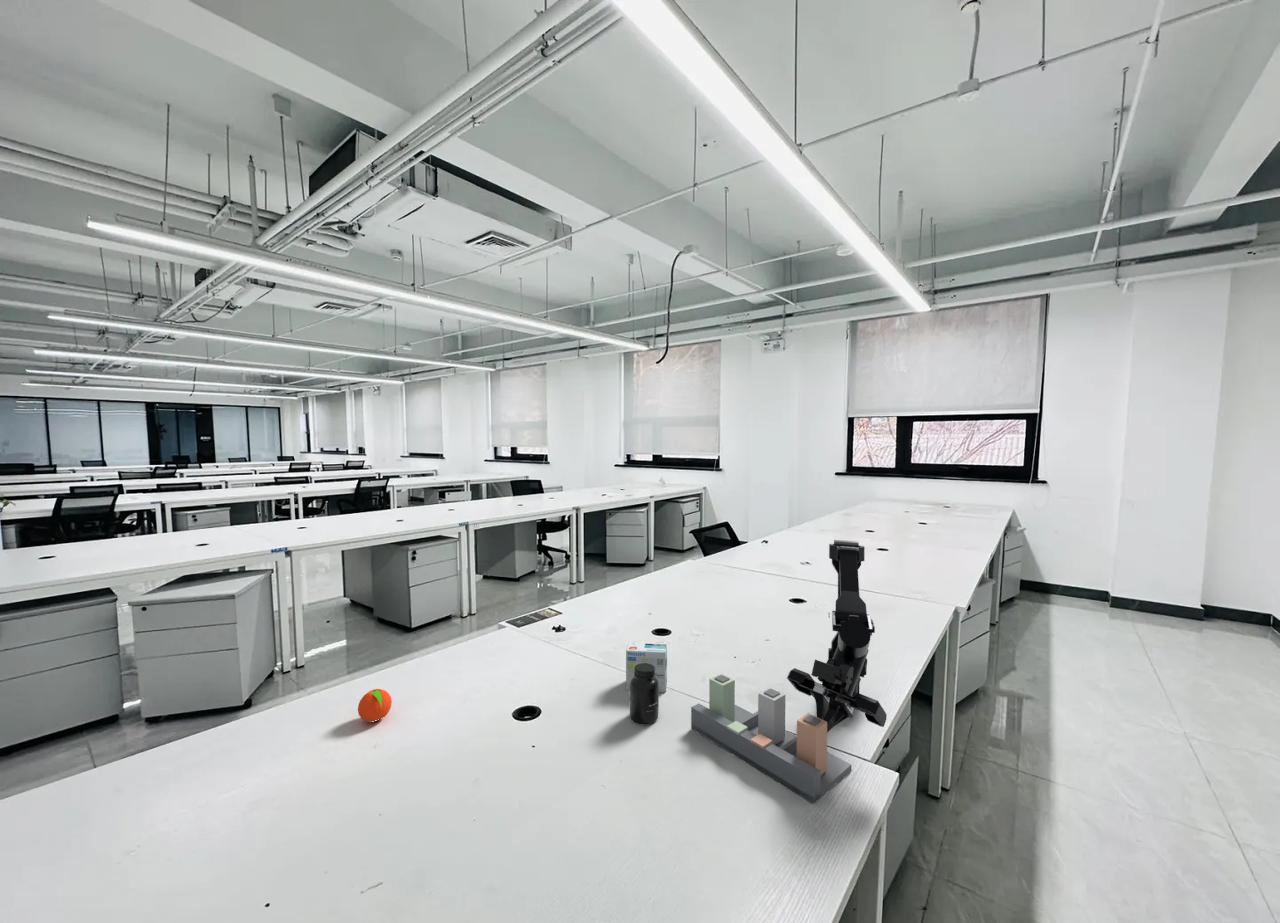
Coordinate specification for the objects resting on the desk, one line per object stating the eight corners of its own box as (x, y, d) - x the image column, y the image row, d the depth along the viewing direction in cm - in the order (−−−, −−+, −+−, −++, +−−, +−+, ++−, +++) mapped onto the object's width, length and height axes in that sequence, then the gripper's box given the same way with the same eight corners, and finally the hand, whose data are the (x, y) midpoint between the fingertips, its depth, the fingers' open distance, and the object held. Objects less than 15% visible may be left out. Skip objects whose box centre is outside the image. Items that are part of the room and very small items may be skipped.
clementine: (398, 721, 112) (397, 691, 112) (365, 734, 107) (365, 702, 107) (385, 708, 117) (385, 679, 117) (353, 720, 112) (353, 690, 112)
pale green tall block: (720, 713, 112) (721, 672, 112) (734, 721, 109) (734, 678, 109) (709, 720, 110) (709, 677, 109) (722, 727, 107) (723, 684, 106)
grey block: (769, 729, 106) (769, 685, 106) (785, 738, 103) (785, 693, 103) (758, 736, 103) (758, 691, 103) (773, 745, 100) (774, 699, 100)
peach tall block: (807, 760, 96) (808, 711, 95) (826, 770, 93) (827, 720, 92) (796, 768, 93) (796, 718, 93) (815, 779, 90) (816, 728, 90)
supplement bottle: (656, 727, 109) (656, 675, 109) (626, 724, 111) (626, 672, 110) (660, 711, 116) (661, 662, 116) (633, 708, 118) (633, 659, 117)
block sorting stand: (731, 707, 118) (731, 685, 118) (851, 770, 95) (851, 743, 95) (690, 729, 109) (690, 705, 109) (812, 804, 86) (812, 774, 86)
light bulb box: (667, 680, 132) (667, 641, 131) (666, 693, 125) (666, 652, 124) (628, 678, 133) (628, 640, 132) (625, 691, 126) (625, 650, 126)
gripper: (792, 630, 104) (761, 698, 97) (881, 659, 90) (851, 741, 83) (811, 656, 110) (783, 722, 103) (898, 687, 95) (871, 766, 88)
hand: (818, 736), depth 94 cm, fingers closed, pressing on peach tall block
